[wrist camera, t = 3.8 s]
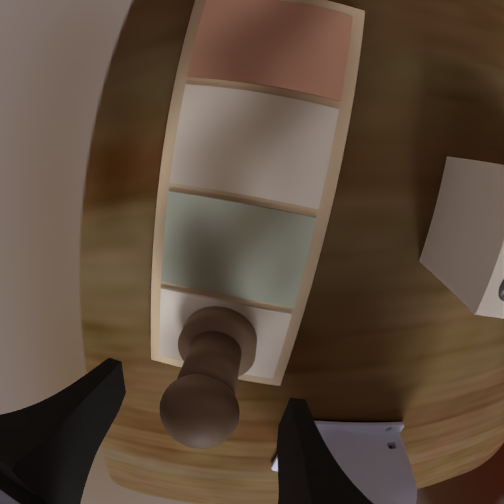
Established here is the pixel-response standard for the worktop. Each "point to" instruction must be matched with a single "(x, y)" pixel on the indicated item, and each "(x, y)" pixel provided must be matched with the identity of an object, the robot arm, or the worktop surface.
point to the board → (251, 168)
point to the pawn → (208, 377)
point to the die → (469, 235)
